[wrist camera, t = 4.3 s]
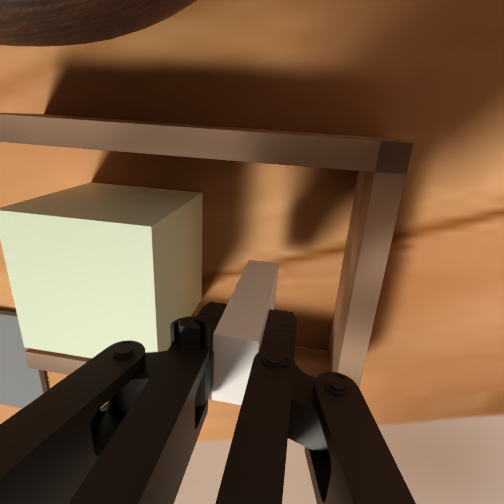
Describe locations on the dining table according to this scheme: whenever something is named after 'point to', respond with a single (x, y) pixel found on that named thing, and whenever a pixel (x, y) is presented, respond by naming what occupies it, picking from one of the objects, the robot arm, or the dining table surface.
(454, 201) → the dining table surface
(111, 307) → the sage block
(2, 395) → the slate mat
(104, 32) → the wooden bowl
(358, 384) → the walnut cubby
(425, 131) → the dining table surface
